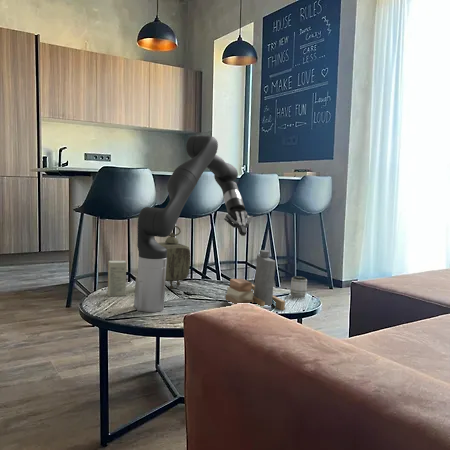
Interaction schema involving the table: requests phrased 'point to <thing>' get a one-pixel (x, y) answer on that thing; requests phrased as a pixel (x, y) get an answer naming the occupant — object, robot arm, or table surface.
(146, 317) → the table surface
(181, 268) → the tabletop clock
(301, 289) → the camera lens
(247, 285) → the offcut cherry
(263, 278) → the hip flask
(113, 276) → the skincare box
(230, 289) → the offcut ash
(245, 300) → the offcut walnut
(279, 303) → the slot rack
